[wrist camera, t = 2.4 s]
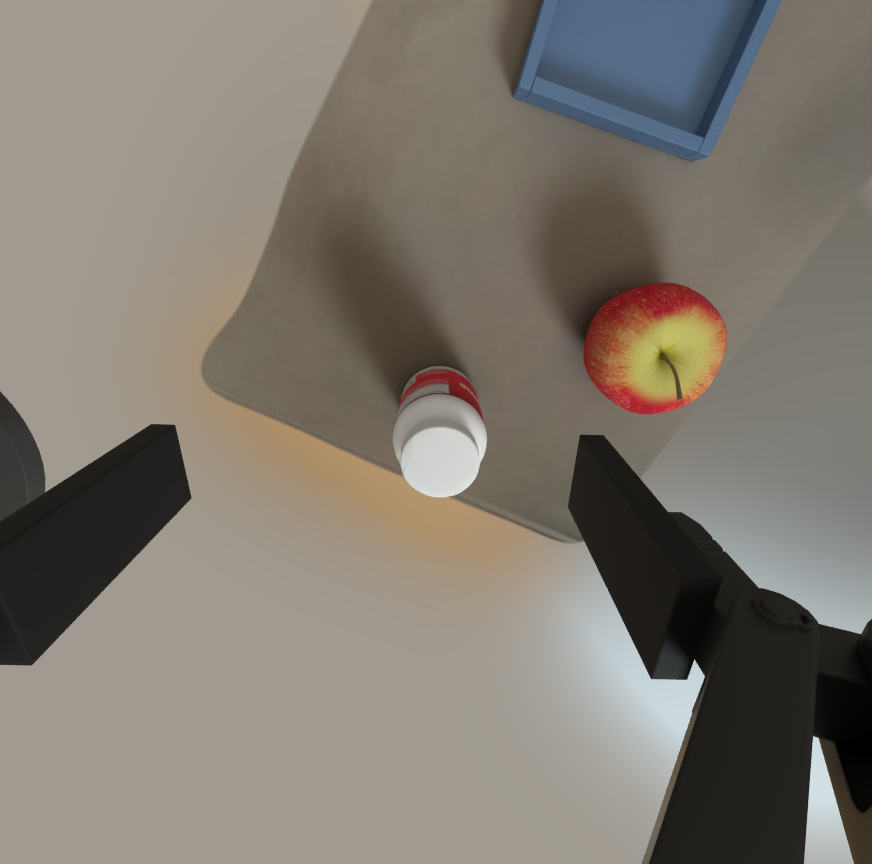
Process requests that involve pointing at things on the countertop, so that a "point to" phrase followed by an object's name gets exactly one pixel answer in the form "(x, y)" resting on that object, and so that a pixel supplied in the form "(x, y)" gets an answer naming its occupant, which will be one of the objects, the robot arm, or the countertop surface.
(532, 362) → the countertop surface
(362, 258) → the countertop surface
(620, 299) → the apple
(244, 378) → the countertop surface
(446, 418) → the pill bottle
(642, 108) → the medicine tray
